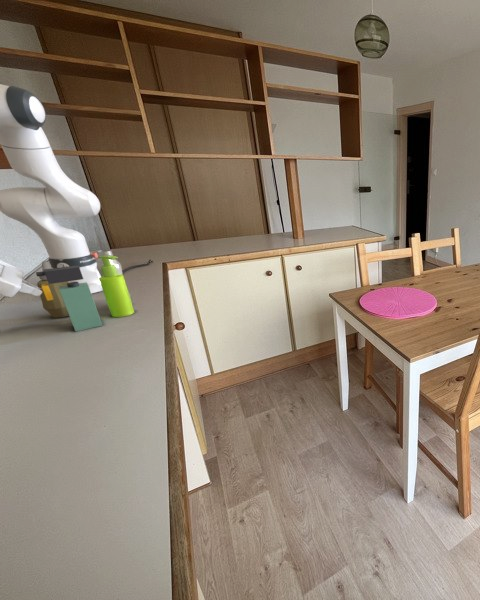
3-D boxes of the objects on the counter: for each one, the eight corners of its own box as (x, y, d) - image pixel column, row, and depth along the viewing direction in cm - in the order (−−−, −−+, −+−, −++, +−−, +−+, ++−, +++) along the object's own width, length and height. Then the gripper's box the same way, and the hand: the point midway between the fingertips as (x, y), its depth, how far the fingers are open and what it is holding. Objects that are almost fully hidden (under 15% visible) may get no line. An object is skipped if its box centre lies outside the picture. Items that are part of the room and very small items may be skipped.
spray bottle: (60, 335, 91) (35, 273, 84) (59, 329, 94) (35, 269, 87) (102, 325, 97) (82, 267, 90) (100, 320, 100) (80, 264, 93)
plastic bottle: (114, 311, 107) (95, 254, 100) (106, 307, 110) (87, 251, 103) (137, 305, 112) (120, 250, 105) (129, 301, 115) (112, 248, 108)
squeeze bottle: (87, 311, 106) (69, 260, 100) (57, 321, 99) (34, 266, 92) (72, 308, 108) (53, 257, 102) (41, 317, 101) (18, 263, 95)
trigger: (47, 300, 88) (41, 286, 86) (47, 298, 89) (41, 284, 88) (53, 299, 88) (47, 285, 87) (53, 297, 90) (47, 283, 89)
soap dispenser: (124, 318, 102) (104, 258, 95) (106, 316, 103) (86, 257, 96) (141, 311, 107) (124, 254, 100) (124, 309, 109) (106, 253, 101)
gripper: (-28, 262, 71) (50, 292, 82) (-18, 248, 84) (48, 276, 94) (-51, 285, 70) (31, 313, 80) (-37, 267, 83) (32, 293, 93)
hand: (40, 292), depth 87 cm, fingers closed, pressing on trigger
